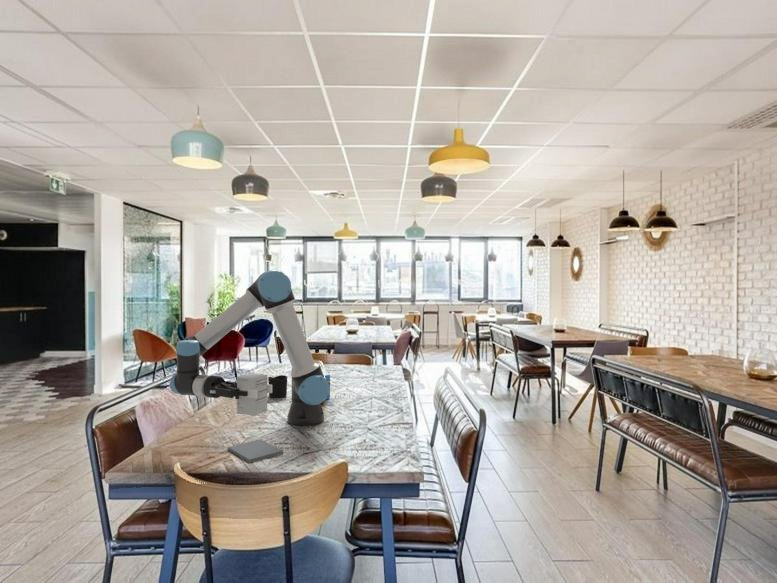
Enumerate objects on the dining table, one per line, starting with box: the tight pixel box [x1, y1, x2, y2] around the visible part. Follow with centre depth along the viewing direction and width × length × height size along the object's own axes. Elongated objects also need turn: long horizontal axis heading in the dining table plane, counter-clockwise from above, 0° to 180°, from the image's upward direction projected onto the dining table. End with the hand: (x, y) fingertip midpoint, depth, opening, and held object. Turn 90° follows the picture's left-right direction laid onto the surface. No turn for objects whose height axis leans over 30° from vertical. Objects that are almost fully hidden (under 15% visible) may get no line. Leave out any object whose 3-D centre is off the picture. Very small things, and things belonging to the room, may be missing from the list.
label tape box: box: [324, 374, 331, 401], centre depth 230 cm, size 9×4×12 cm, turn 141°
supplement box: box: [236, 372, 268, 417], centre depth 157 cm, size 7×7×13 cm
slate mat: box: [227, 438, 284, 463], centre depth 157 cm, size 16×12×1 cm
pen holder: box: [267, 374, 288, 399], centre depth 237 cm, size 9×9×10 cm
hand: (264, 391), depth 155 cm, fingers closed on supplement box, 7 cm apart
